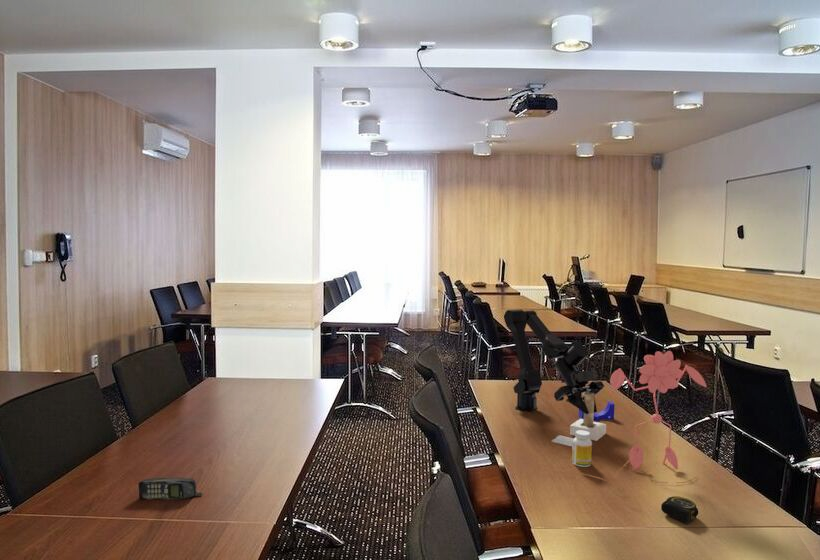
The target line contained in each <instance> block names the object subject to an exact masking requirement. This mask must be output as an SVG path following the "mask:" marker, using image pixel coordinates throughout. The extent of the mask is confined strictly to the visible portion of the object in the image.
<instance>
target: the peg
mask: <svg viewBox="0 0 820 560" xmlns="http://www.w3.org/2000/svg"><path fill="white" fill-rule="evenodd" d="M583 397H584V400H583V401H584V403H585V405H586V407H587V409H588V411H589V413H588V414H585V413H584V419H583V426H586V427H590V428H593V420H594V393H589V392H586V393H584V396H583Z"/></svg>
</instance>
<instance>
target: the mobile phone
mask: <svg viewBox="0 0 820 560" xmlns="http://www.w3.org/2000/svg"><path fill="white" fill-rule="evenodd" d="M196 496H203V492H197V483H196V481H195V479H194V478H191V477H189V478H188V477H154V478H153V477H152V478H145V479H142V480H140V481H139V482H138V498H139V500H175V501H176V500H184V499H190V498H191V497H192V498H193V497H196Z"/></svg>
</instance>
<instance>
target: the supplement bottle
mask: <svg viewBox="0 0 820 560" xmlns="http://www.w3.org/2000/svg"><path fill="white" fill-rule="evenodd" d="M589 438H590V433H589V432H588V431H584V430H578V431H576V435H575V436H574V438H573V447H572V451H571V463H572V464H573V465H575V466H577V467H581V468H582V467H583V468H587V467H591V465H592V450H593V448H592V447H593V442H592V440H591V439H589Z"/></svg>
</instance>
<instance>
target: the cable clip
mask: <svg viewBox="0 0 820 560" xmlns="http://www.w3.org/2000/svg"><path fill="white" fill-rule="evenodd" d="M578 418H579V419H584V412H583V411H581V410H580V409H579V408H578ZM599 420H607V421H609V420H612V421H613V420H614V421H615V403H614V402H612V401H607V404H606V407H605V408H604V409H603V410H602V411H599V412H596V413H594V420H593V421H594V422H598V421H599Z"/></svg>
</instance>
